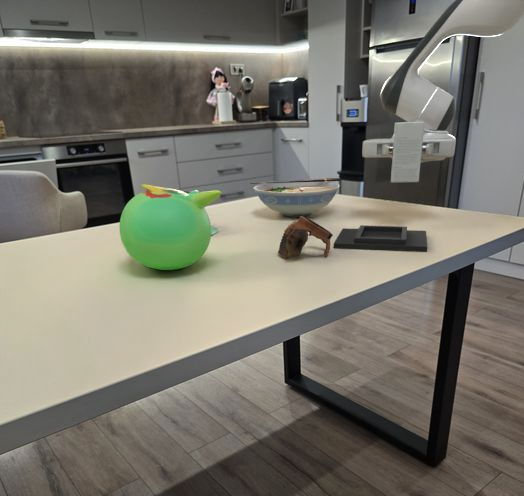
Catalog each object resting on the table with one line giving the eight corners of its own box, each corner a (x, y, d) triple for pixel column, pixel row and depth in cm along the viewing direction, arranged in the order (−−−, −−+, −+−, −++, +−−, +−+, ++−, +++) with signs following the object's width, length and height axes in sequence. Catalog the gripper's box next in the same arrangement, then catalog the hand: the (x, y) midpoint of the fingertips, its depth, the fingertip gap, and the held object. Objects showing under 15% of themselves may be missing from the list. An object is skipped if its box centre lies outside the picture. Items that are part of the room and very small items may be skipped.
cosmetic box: (417, 180, 108) (423, 121, 103) (418, 182, 104) (425, 122, 99) (389, 180, 109) (394, 122, 104) (389, 182, 106) (394, 122, 100)
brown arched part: (281, 250, 98) (301, 213, 96) (320, 274, 97) (341, 237, 94) (263, 249, 87) (285, 208, 85) (306, 276, 86) (330, 235, 83)
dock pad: (425, 235, 104) (426, 226, 103) (426, 251, 92) (428, 241, 91) (342, 232, 109) (342, 223, 108) (333, 248, 97) (333, 238, 96)
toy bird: (118, 261, 93) (105, 182, 86) (201, 250, 99) (195, 174, 92) (136, 288, 78) (122, 194, 72) (233, 272, 84) (228, 185, 78)
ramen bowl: (250, 224, 120) (248, 190, 116) (251, 208, 140) (250, 179, 137) (349, 221, 120) (351, 187, 116) (336, 205, 140) (337, 176, 137)
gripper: (365, 132, 116) (359, 135, 105) (454, 130, 111) (459, 133, 99) (363, 160, 119) (357, 166, 107) (450, 159, 114) (454, 165, 102)
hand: (407, 150), depth 103 cm, fingers closed on cosmetic box, 6 cm apart
